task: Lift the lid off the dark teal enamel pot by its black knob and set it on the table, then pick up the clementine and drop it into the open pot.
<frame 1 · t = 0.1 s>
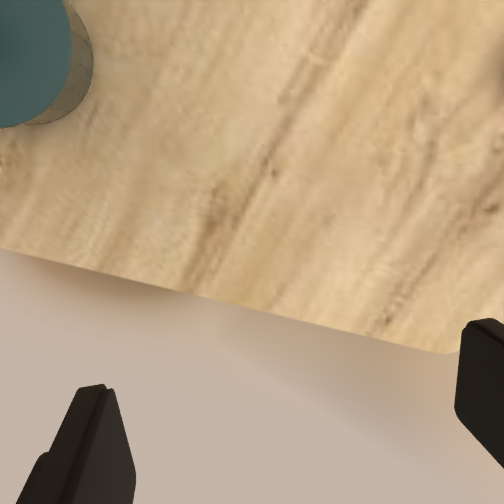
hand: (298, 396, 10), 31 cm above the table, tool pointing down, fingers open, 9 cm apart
pot: (22, 52, 32), on the table
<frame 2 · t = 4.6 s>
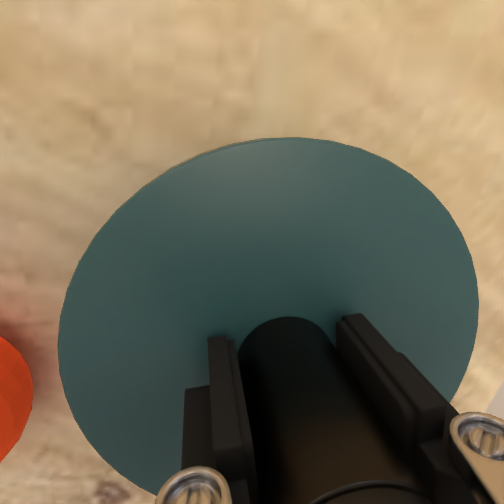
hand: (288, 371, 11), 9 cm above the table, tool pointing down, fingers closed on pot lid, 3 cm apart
pot lid: (280, 348, 12), point 8 cm above the table, touching gripper, pot
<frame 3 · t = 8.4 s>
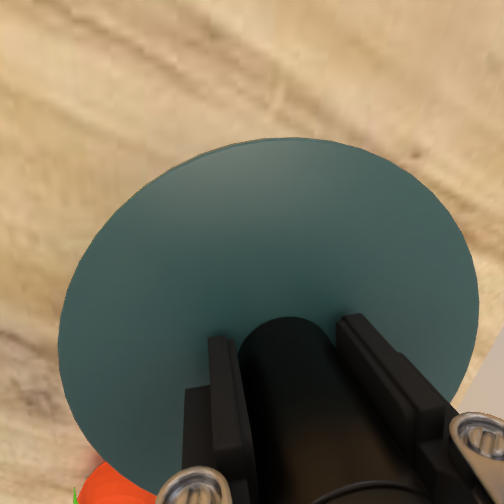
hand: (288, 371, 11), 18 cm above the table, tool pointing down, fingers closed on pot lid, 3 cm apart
clementine: (124, 462, 33), on the table
pot lid: (280, 348, 12), point 17 cm above the table, touching gripper
when the fingers open (2 cm above the table, at t = 12.1 s): pot lid stays where it is, point 1 cm above the table.
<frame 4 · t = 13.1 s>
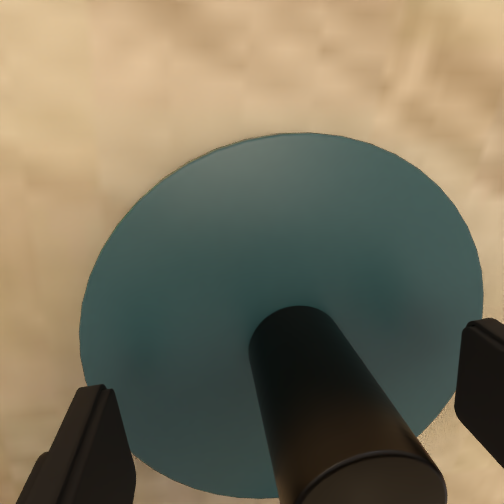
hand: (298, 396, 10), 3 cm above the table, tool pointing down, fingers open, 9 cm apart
pot lid: (290, 337, 12), point 1 cm above the table
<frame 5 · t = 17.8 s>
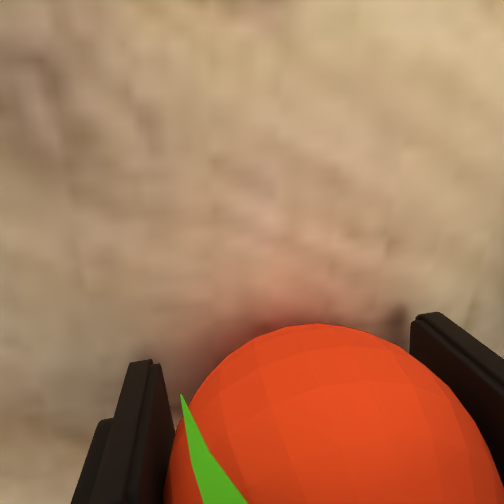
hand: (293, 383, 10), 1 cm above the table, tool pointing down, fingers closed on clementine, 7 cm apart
clementine: (274, 367, 11), on the table, touching gripper
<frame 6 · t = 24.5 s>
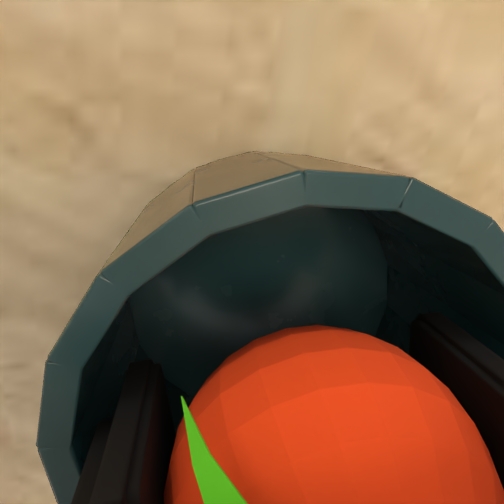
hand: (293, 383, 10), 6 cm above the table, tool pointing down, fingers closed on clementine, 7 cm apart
pot: (263, 297, 16), on the table
clementine: (274, 368, 11), point 4 cm above the table, touching gripper
when the fingers open (7 cm above the table, at t = 39.0 s): clementine drops 6 cm, resting on pot.
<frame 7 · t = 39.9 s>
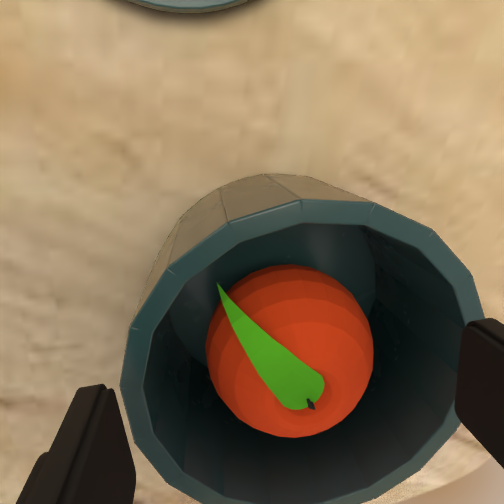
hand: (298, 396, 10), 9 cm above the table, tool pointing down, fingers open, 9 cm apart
pot: (273, 291, 19), on the table
clementine: (266, 300, 19), resting on pot
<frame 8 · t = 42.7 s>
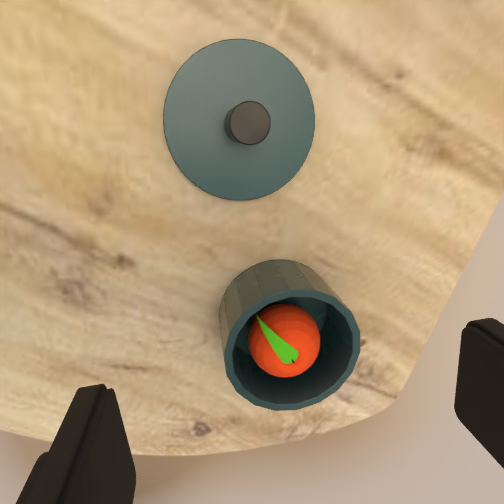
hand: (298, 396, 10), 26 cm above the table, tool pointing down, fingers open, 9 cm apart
pot: (276, 313, 39), on the table
clementine: (272, 317, 38), resting on pot
pot lid: (240, 124, 32), point 1 cm above the table
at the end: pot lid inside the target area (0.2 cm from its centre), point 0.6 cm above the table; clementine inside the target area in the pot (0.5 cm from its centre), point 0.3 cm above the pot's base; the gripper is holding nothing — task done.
